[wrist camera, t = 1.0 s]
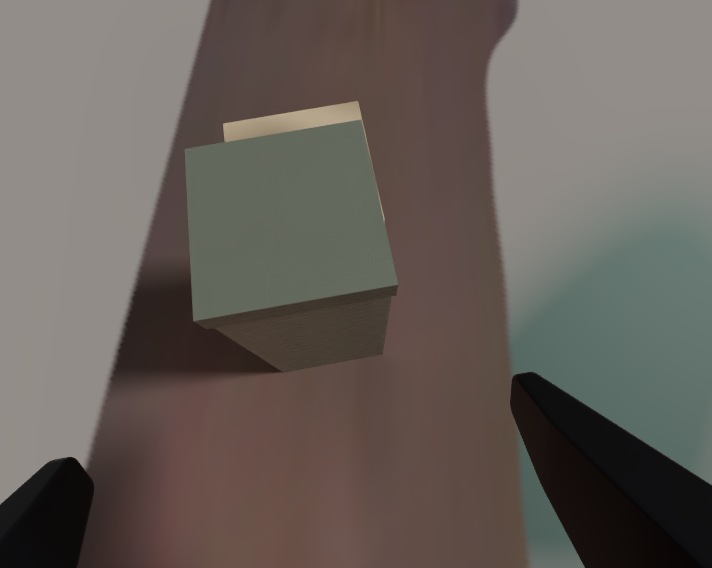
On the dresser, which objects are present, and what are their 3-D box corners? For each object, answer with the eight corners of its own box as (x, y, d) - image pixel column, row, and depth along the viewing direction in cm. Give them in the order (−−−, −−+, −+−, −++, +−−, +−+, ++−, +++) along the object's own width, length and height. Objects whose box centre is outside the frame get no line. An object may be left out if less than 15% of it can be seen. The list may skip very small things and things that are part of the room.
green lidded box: (384, 355, 23) (397, 284, 12) (281, 374, 23) (193, 320, 11) (365, 260, 25) (361, 119, 13) (270, 277, 25) (184, 149, 13)
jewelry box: (383, 243, 26) (384, 220, 23) (249, 267, 25) (234, 247, 23) (358, 132, 28) (357, 99, 25) (238, 152, 28) (222, 121, 25)
